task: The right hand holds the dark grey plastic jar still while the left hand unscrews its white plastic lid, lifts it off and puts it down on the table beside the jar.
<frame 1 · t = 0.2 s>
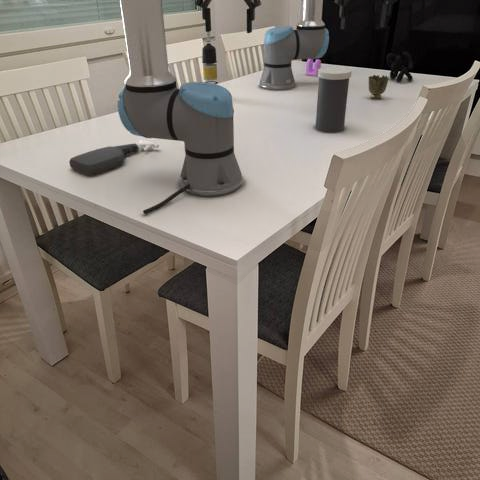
left hand: (228, 32, 139), 28 cm above the table, tool pointing down, fingers open, 13 cm apart
right hand: (363, 28, 142), 28 cm above the table, tool pointing down, fingers open, 13 cm apart
filter: (211, 98, 179), on the table
jar: (329, 128, 145), on the table
bracket: (317, 73, 216), on the table
lid: (334, 71, 136), point 18 cm above the table, screwed on, not yet turned
spray bottle: (117, 159, 125), on the table
squiggle: (399, 80, 200), on the table
cup: (375, 98, 175), on the table
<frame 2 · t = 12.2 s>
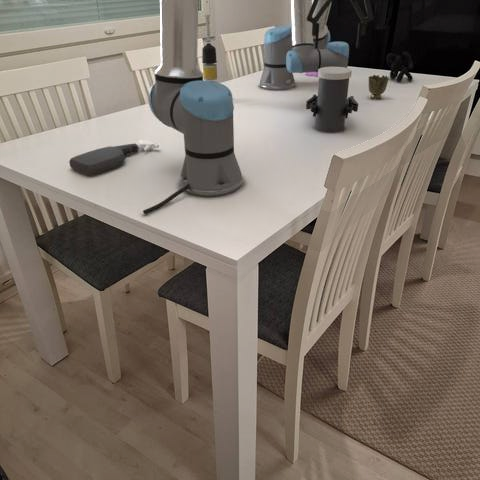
left hand: (336, 47, 132), 24 cm above the table, tool pointing down, fingers open, 11 cm apart
right hand: (330, 113, 138), 6 cm above the table, tool horizontal, fingers closed on jar, 9 cm apart
jar: (329, 128, 145), on the table, touching right hand
everything else where it was.
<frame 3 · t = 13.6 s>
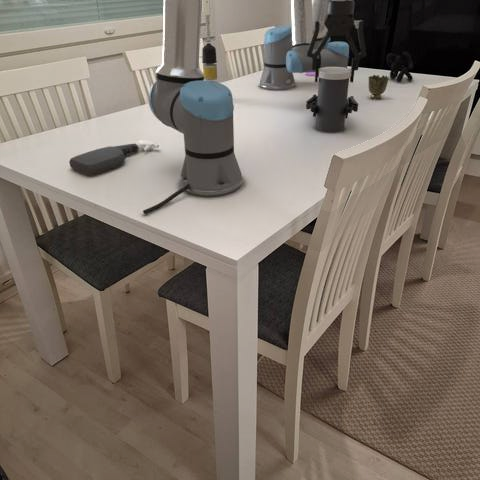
left hand: (333, 81, 137), 15 cm above the table, tool pointing down, fingers closed on lid, 10 cm apart
right hand: (330, 113, 138), 6 cm above the table, tool horizontal, fingers closed on jar, 9 cm apart
jar: (329, 128, 145), on the table, touching right hand
lid: (334, 71, 136), point 18 cm above the table, screwed on, not yet turned, touching left hand
everything else where it was.
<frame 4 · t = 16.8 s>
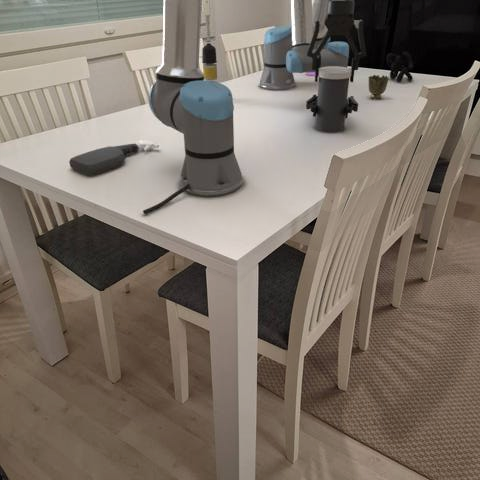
left hand: (333, 81, 137), 15 cm above the table, tool pointing down, fingers closed on lid, 10 cm apart
right hand: (330, 113, 138), 6 cm above the table, tool horizontal, fingers closed on jar, 9 cm apart
jar: (329, 128, 145), on the table, touching right hand
lid: (334, 70, 136), point 18 cm above the table, turned 98° so far, risen 0.1 cm, still on its thread, touching left hand
everything else where it was.
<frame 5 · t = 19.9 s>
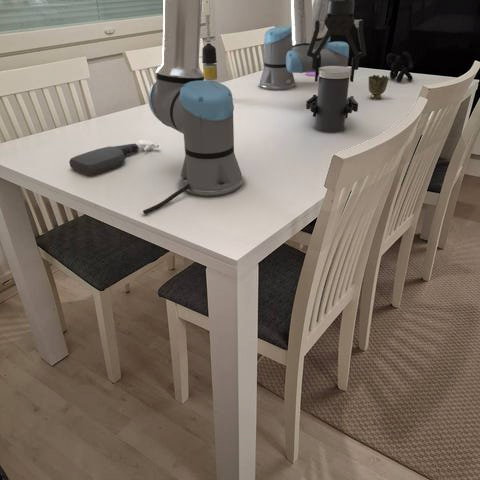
left hand: (333, 80, 137), 15 cm above the table, tool pointing down, fingers closed on lid, 10 cm apart
right hand: (330, 113, 138), 6 cm above the table, tool horizontal, fingers closed on jar, 9 cm apart
jar: (329, 128, 145), on the table, touching right hand
lid: (334, 70, 136), point 18 cm above the table, turned 197° so far, risen 0.2 cm, still on its thread, touching left hand
everything else where it was.
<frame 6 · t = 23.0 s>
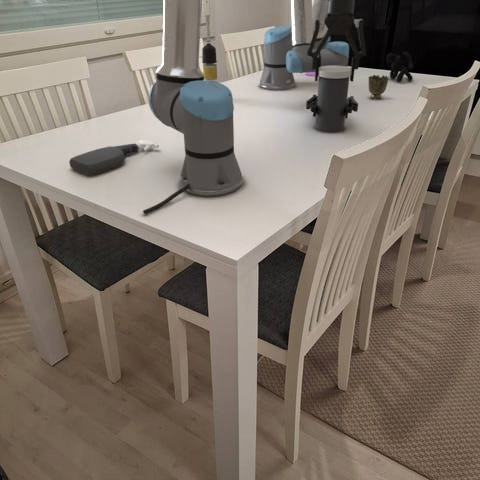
left hand: (333, 80, 137), 15 cm above the table, tool pointing down, fingers closed on lid, 10 cm apart
right hand: (330, 113, 138), 6 cm above the table, tool horizontal, fingers closed on jar, 9 cm apart
jar: (329, 128, 145), on the table, touching right hand
lid: (334, 70, 136), point 18 cm above the table, turned 295° so far, risen 0.3 cm, still on its thread, touching left hand
everything else where it was.
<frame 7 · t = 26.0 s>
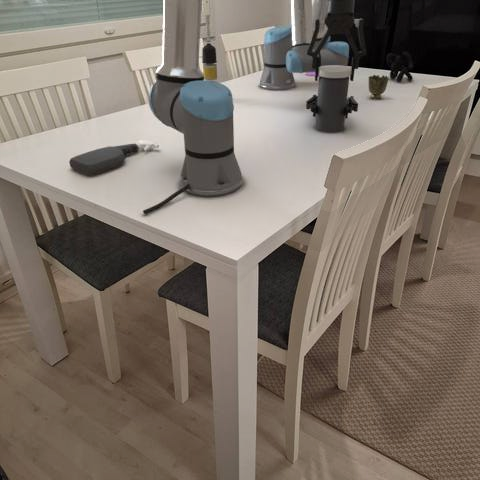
left hand: (333, 79, 137), 15 cm above the table, tool pointing down, fingers closed on lid, 10 cm apart
right hand: (330, 113, 138), 6 cm above the table, tool horizontal, fingers closed on jar, 9 cm apart
jar: (329, 128, 145), on the table, touching right hand
lid: (334, 69, 136), point 18 cm above the table, turned 394° so far, risen 0.5 cm, still on its thread, touching left hand
everything else where it was.
when the left hand's fingers open (0 cm above the table, at t = 34.0 s): lid drops 2 cm, point 1 cm above the table.
when the right hand's fingers open (6 cm above the table, at t = 35.0 s): jar stays where it is, on the table.
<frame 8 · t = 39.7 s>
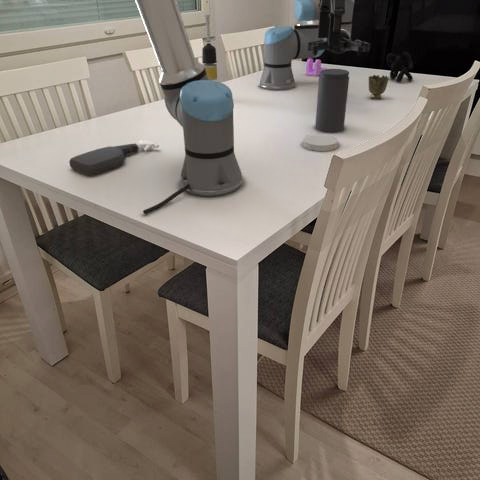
left hand: (327, 41, 117), 28 cm above the table, tool pointing down, fingers open, 13 cm apart
right hand: (337, 51, 141), 22 cm above the table, tool horizontal, fingers open, 13 cm apart
jar: (329, 128, 145), on the table
lid: (320, 140, 131), point 1 cm above the table, off its thread
everything else where it was.
at the end: lid came off its thread; lid point 1.4 cm above the table; the left hand is holding nothing; the right hand is holding nothing; jar tilted 0°; jar moved 0.0 cm from its start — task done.
